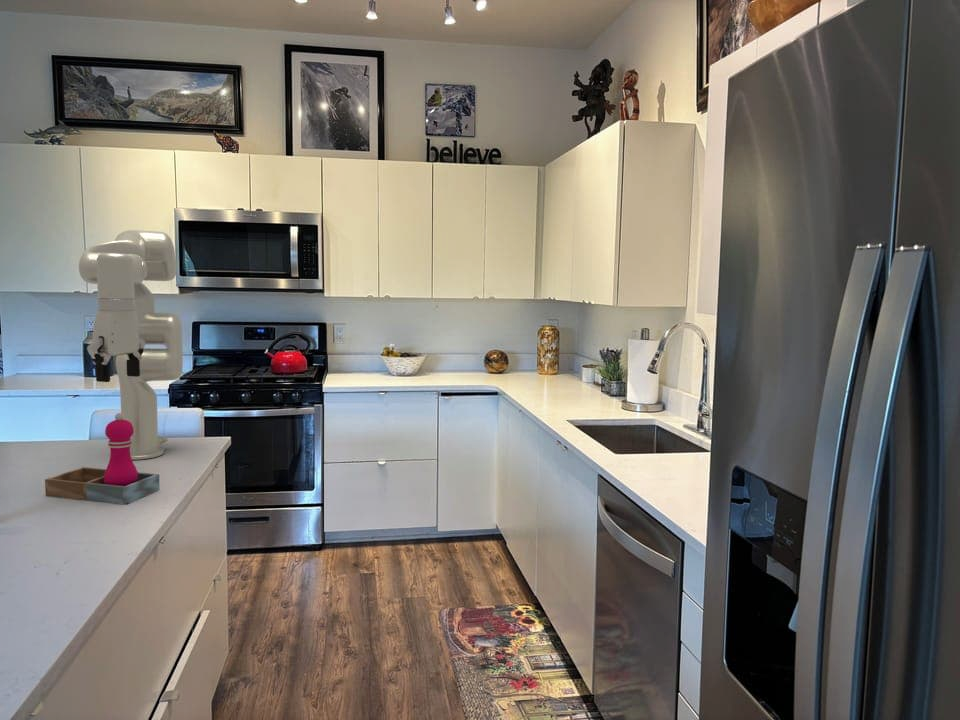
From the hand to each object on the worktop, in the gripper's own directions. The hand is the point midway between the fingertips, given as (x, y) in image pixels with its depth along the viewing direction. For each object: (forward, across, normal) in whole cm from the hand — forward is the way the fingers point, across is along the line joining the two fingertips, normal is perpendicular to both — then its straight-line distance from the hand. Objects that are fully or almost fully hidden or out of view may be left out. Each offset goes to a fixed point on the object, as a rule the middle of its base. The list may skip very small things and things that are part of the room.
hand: (118, 378), depth 157 cm
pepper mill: (+28, 0, 0) cm, 29 cm away
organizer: (+28, 0, -5) cm, 29 cm away
